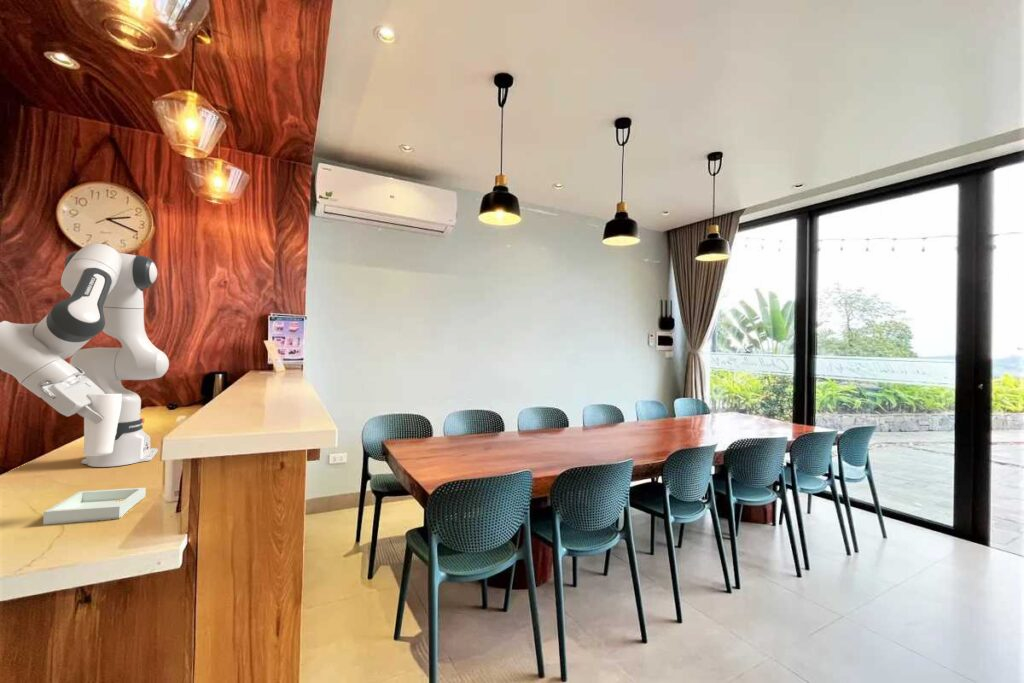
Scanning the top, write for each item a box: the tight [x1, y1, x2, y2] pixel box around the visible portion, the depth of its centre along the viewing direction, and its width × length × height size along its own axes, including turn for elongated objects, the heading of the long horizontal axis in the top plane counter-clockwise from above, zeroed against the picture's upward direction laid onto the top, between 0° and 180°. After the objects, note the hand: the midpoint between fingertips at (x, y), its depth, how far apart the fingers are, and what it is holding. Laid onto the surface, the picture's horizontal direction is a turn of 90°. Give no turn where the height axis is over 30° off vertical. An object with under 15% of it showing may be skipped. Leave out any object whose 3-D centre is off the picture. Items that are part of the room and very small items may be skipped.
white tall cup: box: [82, 394, 122, 457], centre depth 109 cm, size 7×7×15 cm
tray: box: [42, 487, 147, 526], centre depth 109 cm, size 14×14×3 cm
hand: (106, 418), depth 109 cm, fingers closed on white tall cup, 6 cm apart
